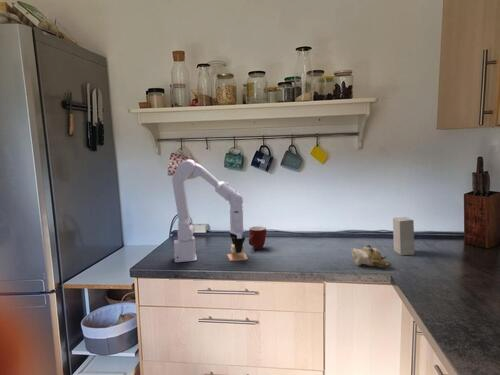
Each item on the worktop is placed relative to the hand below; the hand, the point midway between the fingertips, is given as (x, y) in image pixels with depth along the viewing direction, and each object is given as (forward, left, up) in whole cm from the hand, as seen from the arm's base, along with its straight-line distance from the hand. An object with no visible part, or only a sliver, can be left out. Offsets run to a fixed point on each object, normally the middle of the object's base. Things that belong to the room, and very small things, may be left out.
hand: (237, 250), depth 160 cm
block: (0, 0, -3) cm, 3 cm away
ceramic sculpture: (+51, -23, -4) cm, 57 cm away
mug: (+11, +10, -4) cm, 15 cm away
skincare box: (+74, -12, -4) cm, 75 cm away
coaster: (0, 0, -3) cm, 3 cm away
